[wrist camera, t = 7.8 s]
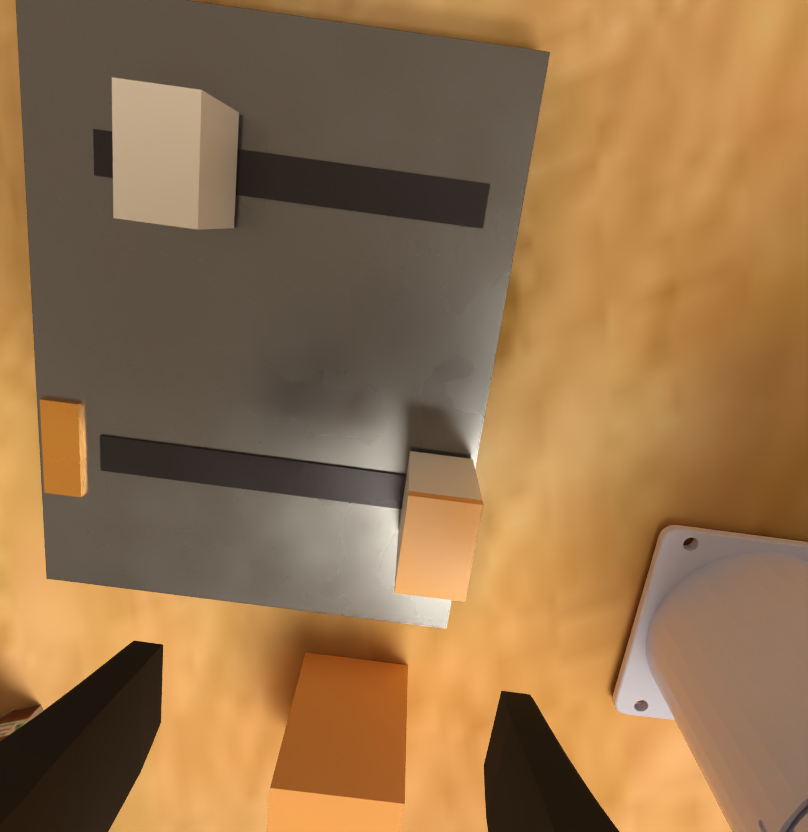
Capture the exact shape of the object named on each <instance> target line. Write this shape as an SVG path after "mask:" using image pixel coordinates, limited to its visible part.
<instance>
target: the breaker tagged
mask: <svg viewBox="0 0 808 832" xmlns="http://www.w3.org/2000/svg"><path fill="white" fill-rule="evenodd" d="M482 510H483V501H482V497H481V493H480V488H479V484H478V479H477V475H476V471H475V466H474V462H473V459H468V458H460V457H453V456H445V455H437V454H430V453H422V452H414V451H410V455H409V462H408V469H407V476H406V483H405V490H404V497H403V504H402V511H401V518H400V525H399V532H398V543H397V558H396V573H395V588H394V593H398V594H406V595H414V596H422V597H429V598H437V599H445V600H453V601H461V602H465V601H466V595H467V590H468V585H469V579H470V574H471V569H472V563H473V558H474V553H475V547H476V542H477V537H478V531H479V526H480V521H481V515H482Z"/></svg>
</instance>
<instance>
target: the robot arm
mask: <svg viewBox="0 0 808 832" xmlns="http://www.w3.org/2000/svg"><path fill="white" fill-rule="evenodd" d="M692 537H693V538H694V540H693V541H692V543H691V544H689V545H683V543H684V541H685V540H686V539H688V538H692ZM162 665H163V645H162V644H154V643H147V642H140V641H133V642H132V643H130V644H129V645H128V646H126V647H125V648H124V649H123V650H121V651H120V652H119V653H117V654H116V655H115V656H114V657H112V658H111V659H110V660H109V661H107V662H106V663H105V664H104V665H102V666H101V667H100V668H99V669H97V670H96V671H95V672H94V673H92V674H91V675H90V676H89V677H87V678H86V679H85V680H83V681H82V682H81V683H80V684H78V685H77V686H76V687H74V688H73V689H72V690H70V691H69V692H68V693H67V694H65V695H64V696H63V697H61V698H60V699H59V700H57V701H56V702H55V703H53V704H52V705H51V706H49V707H48V708H47V709H45V710H44V711H43V712H41V713H40V714H38V715H37V716H36V717H34V718H33V719H31V720H30V721H28V722H27V723H26V724H24V725H23V726H21V727H20V728H18V729H17V730H16V731H14V732H13V733H11V734H10V735H8V736H7V737H5V738H4V739H3V740H1V741H0V832H108V831H109V829H110V827H111V825H112V824H113V822H114V820H115V818H116V816H117V814H118V813H119V811H120V809H121V807H122V805H123V803H124V802H125V800H126V798H127V796H128V794H129V792H130V791H131V789H132V787H133V785H134V783H135V781H136V779H137V777H138V776H139V774H140V772H141V769H142V767H143V765H144V762H145V760H146V758H147V755H148V753H149V751H150V748H151V746H152V743H153V741H154V738H155V736H156V733H157V731H158V728H159V726H160V723H161V699H162ZM640 700H644V701H643V702H641V703H639V704H635V703H636V702H638V701H640ZM613 703H614V705H615V707H616V709H617V710H618V711H619V712H620V713H624V714H630V715H638V716H646V717H655V718H663V719H671V720H675V721H676V723H677V725H678V727H679V729H680V731H681V733H682V734H683V736H684V738H685V740H686V742H687V744H688V746H689V748H690V750H691V752H692V754H693V756H694V758H695V760H696V762H697V764H698V766H699V768H700V770H701V771H702V773H703V775H704V777H705V779H706V781H707V783H708V785H709V787H710V789H711V791H712V793H713V795H714V797H715V799H716V801H717V803H718V805H719V807H720V808H721V810H722V812H723V814H724V816H725V818H726V820H727V822H728V824H729V826H730V828H731V830H732V832H808V542H805V541H797V540H789V539H781V538H774V537H766V536H758V535H751V534H743V533H735V532H727V531H720V530H712V529H704V528H697V527H689V526H681V525H670V526H668V527H665V528H664V529H663V530H662V531H661V533H660V534H659V537H658V540H657V544H656V547H655V551H654V554H653V558H652V561H651V565H650V568H649V572H648V575H647V579H646V582H645V586H644V589H643V592H642V596H641V599H640V603H639V606H638V610H637V613H636V617H635V620H634V624H633V627H632V631H631V634H630V638H629V641H628V645H627V648H626V651H625V655H624V658H623V662H622V665H621V669H620V672H619V676H618V679H617V683H616V686H615V690H614V693H613ZM484 780H485V802H486V818H487V825H488V832H619V831H618V829H617V828H616V827H615V825H614V824H613V823H612V821H611V820H610V818H609V817H608V816H607V814H606V813H605V812H604V810H603V809H602V807H601V806H600V805H599V803H598V802H597V800H596V799H595V797H594V796H593V795H592V793H591V792H590V790H589V789H588V787H587V786H586V784H585V783H584V781H583V780H582V778H581V777H580V775H579V774H578V772H577V771H576V769H575V768H574V766H573V764H572V763H571V761H570V760H569V758H568V757H567V755H566V753H565V752H564V750H563V749H562V747H561V745H560V744H559V742H558V740H557V739H556V737H555V735H554V734H553V732H552V730H551V729H550V727H549V725H548V724H547V722H546V720H545V719H544V717H543V715H542V713H541V712H540V710H539V708H538V706H537V705H536V703H535V701H534V700H533V698H532V697H531V695H528V694H521V693H514V692H506V691H501V695H500V700H499V704H498V708H497V712H496V717H495V721H494V725H493V729H492V733H491V738H490V742H489V746H488V750H487V755H486V759H485V763H484Z"/></svg>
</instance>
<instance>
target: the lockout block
mask: <svg viewBox="0 0 808 832" xmlns="http://www.w3.org/2000/svg"><path fill="white" fill-rule="evenodd" d="M407 676H408V665H403V664H395V663H387V662H379V661H371V660H363V659H355V658H347V657H339V656H330V655H322V654H314V653H305V657H304V660H303V664H302V668H301V672H300V676H299V680H298V683H297V687H296V691H295V695H294V699H293V703H292V706H291V710H290V714H289V718H288V722H287V725H286V729H285V733H284V737H283V741H282V745H281V748H280V752H279V756H278V760H277V764H276V768H275V771H274V775H273V779H272V783H271V787H270V796H269V808H268V820H267V832H400V827H401V822H402V816H403V810H404V804H405V762H406V719H407Z"/></svg>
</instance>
